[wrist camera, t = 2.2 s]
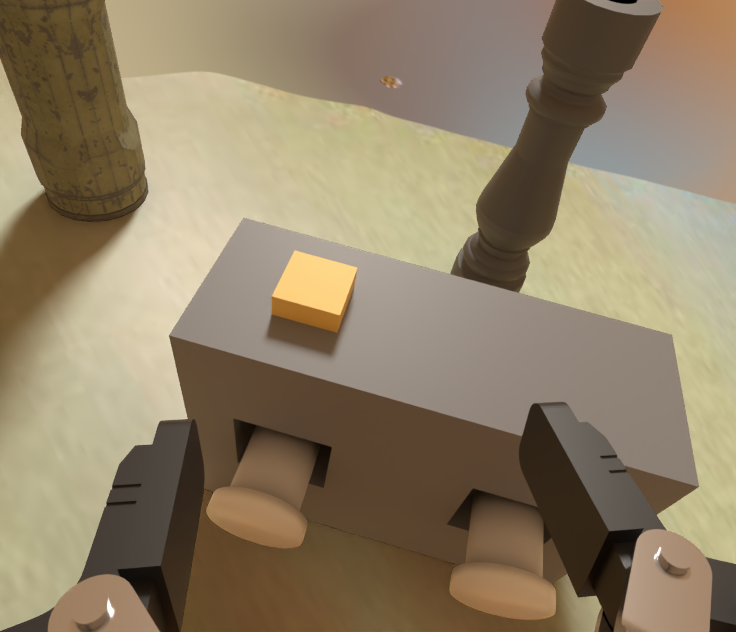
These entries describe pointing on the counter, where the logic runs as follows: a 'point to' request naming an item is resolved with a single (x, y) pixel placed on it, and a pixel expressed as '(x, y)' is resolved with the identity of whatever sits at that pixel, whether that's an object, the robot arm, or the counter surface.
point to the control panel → (412, 385)
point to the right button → (504, 561)
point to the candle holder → (552, 132)
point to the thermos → (73, 106)
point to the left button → (267, 490)
